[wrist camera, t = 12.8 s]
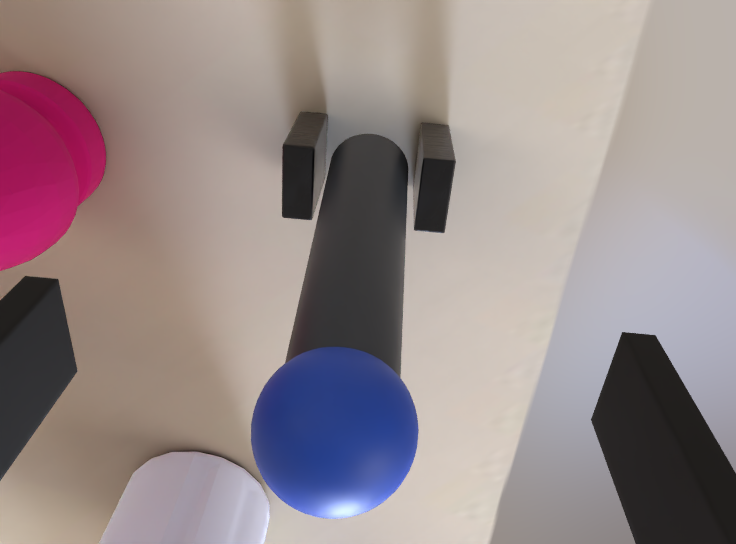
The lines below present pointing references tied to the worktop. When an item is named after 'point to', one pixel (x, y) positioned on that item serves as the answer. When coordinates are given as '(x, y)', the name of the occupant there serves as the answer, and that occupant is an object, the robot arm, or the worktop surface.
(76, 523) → the worktop surface
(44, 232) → the pepper mill
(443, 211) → the clip
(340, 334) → the microphone
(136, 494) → the soap bottle
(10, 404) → the robot arm
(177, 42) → the worktop surface
